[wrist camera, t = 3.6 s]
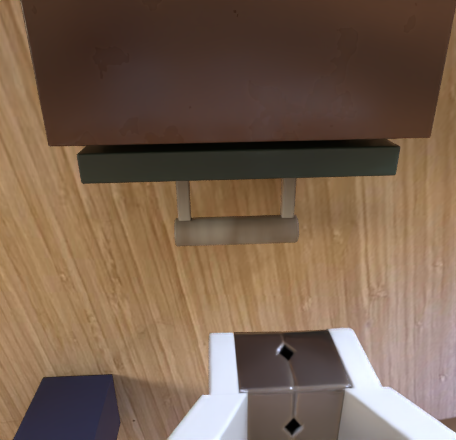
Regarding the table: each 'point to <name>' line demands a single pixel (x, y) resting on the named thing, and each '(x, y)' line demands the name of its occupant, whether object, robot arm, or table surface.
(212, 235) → the drawer
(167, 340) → the table surface
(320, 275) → the table surface
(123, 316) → the table surface
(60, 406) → the box
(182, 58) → the cabinet
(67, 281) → the table surface
